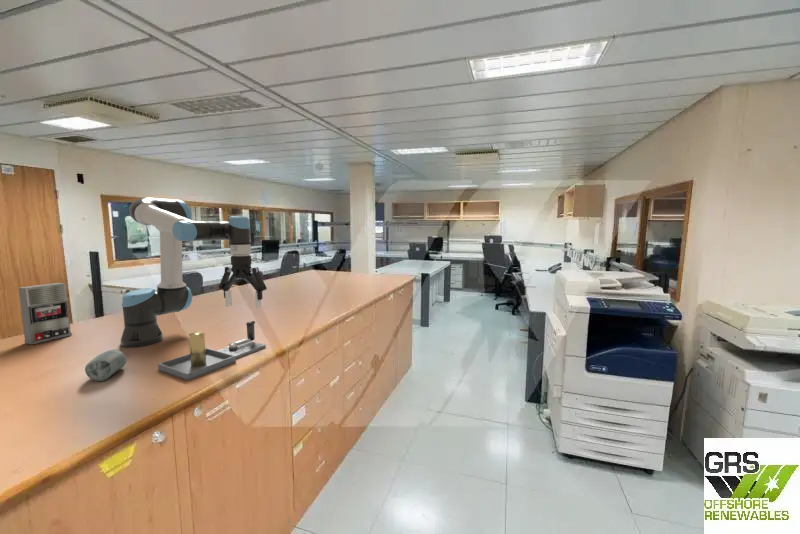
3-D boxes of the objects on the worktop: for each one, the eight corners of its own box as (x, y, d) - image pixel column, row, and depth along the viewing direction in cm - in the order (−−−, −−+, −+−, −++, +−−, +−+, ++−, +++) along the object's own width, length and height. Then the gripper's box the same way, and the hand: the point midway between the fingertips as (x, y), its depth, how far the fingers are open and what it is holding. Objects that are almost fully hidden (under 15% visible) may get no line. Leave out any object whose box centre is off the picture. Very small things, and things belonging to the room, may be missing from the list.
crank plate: (213, 354, 138) (213, 351, 138) (247, 342, 152) (247, 339, 152) (232, 360, 133) (232, 356, 133) (265, 347, 147) (265, 344, 147)
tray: (158, 370, 122) (158, 363, 122) (207, 353, 139) (207, 347, 139) (187, 381, 114) (186, 374, 114) (235, 362, 131) (235, 355, 131)
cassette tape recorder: (32, 345, 146) (25, 288, 143) (24, 343, 148) (17, 287, 145) (72, 335, 159) (66, 283, 156) (64, 334, 161) (59, 282, 158)
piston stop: (187, 365, 126) (185, 334, 124) (201, 360, 130) (199, 330, 128) (196, 368, 123) (194, 336, 122) (209, 363, 128) (207, 332, 126)
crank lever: (232, 350, 139) (231, 328, 138) (227, 348, 141) (225, 327, 140) (257, 341, 151) (257, 321, 150) (253, 339, 152) (252, 320, 151)
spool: (112, 374, 111) (99, 347, 112) (83, 389, 110) (70, 362, 110) (139, 367, 125) (127, 343, 125) (113, 380, 123) (101, 356, 124)
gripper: (207, 255, 134) (210, 307, 136) (263, 256, 129) (265, 310, 131) (220, 253, 141) (223, 303, 144) (274, 255, 136) (276, 306, 139)
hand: (243, 306), depth 137 cm, fingers open, 13 cm apart
